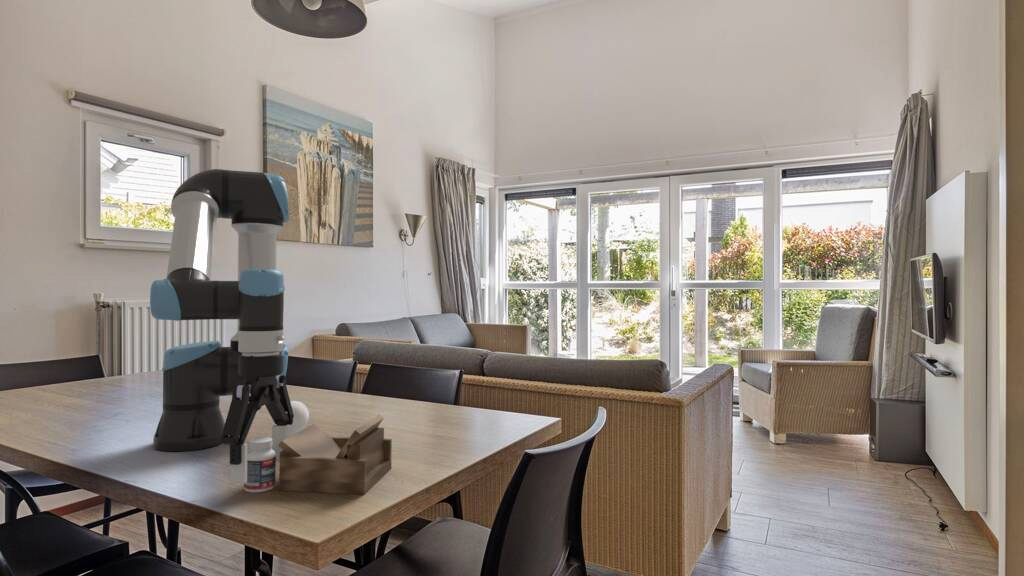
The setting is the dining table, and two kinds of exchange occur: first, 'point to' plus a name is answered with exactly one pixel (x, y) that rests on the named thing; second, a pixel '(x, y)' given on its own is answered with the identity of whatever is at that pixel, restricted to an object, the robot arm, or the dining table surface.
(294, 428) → the light bulb
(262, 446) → the pill bottle
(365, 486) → the wooden box with flaps
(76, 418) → the dining table surface
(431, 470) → the dining table surface
